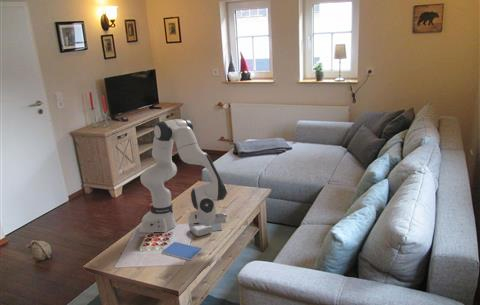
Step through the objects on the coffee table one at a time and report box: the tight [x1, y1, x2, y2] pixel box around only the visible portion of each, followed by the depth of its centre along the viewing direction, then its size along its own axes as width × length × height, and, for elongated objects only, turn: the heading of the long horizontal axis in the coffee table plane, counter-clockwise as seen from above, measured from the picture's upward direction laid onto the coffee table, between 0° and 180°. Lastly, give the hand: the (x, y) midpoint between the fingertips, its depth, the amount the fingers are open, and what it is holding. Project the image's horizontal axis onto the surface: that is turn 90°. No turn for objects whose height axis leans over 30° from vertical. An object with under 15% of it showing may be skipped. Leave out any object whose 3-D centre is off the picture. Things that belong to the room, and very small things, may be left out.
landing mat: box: [190, 223, 223, 234], centre depth 239 cm, size 18×14×1 cm
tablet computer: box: [161, 241, 204, 261], centre depth 213 cm, size 19×13×1 cm, turn 63°
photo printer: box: [188, 225, 213, 237], centre depth 233 cm, size 10×4×12 cm
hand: (207, 224), depth 218 cm, fingers closed
